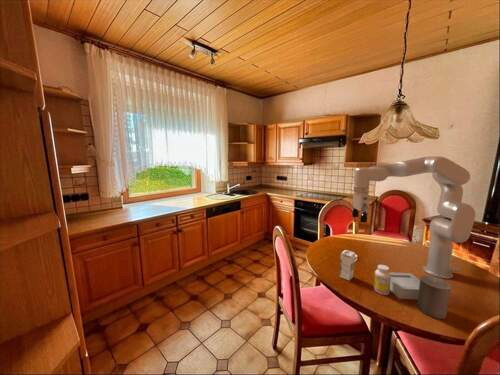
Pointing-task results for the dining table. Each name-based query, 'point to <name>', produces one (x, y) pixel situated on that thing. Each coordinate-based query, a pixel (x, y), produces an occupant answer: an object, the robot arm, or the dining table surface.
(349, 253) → the syrup box
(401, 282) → the gray square tray
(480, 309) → the dining table surface
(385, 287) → the supplement bottle
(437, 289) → the pillar candle
